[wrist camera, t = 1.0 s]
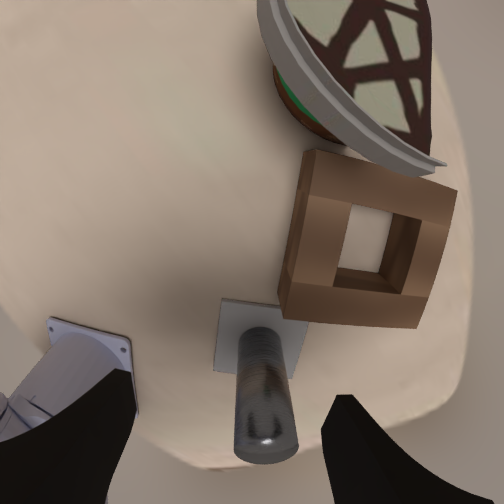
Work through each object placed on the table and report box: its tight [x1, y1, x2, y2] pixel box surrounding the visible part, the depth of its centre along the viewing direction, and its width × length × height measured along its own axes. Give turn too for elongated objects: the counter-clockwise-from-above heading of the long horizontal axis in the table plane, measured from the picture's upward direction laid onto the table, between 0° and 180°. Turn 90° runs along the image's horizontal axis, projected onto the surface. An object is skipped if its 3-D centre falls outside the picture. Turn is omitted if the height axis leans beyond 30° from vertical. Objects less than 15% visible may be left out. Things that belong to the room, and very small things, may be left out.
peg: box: [234, 327, 299, 464], centre depth 15 cm, size 3×3×9 cm
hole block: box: [277, 150, 457, 329], centre depth 16 cm, size 9×9×4 cm
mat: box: [213, 299, 309, 379], centre depth 20 cm, size 6×6×1 cm
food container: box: [257, 0, 447, 178], centre depth 10 cm, size 12×6×10 cm, turn 175°
